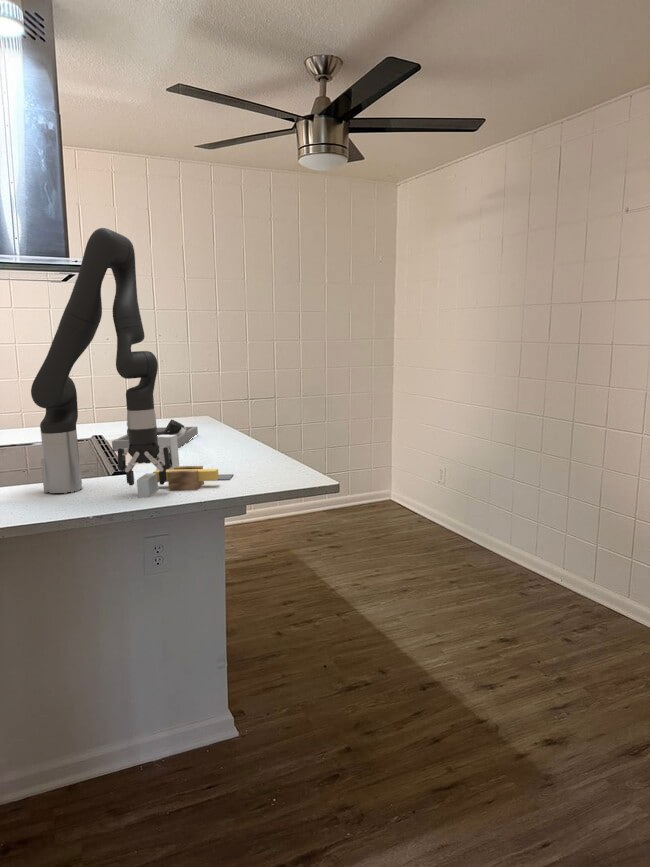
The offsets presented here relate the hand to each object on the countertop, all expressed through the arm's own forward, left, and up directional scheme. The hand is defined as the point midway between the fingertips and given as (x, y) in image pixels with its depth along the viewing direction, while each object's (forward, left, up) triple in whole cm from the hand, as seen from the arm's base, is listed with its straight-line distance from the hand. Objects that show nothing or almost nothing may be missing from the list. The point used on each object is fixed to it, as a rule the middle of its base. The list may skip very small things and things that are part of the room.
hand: (146, 484), depth 163 cm
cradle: (+9, +7, -3) cm, 12 cm away
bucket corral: (-23, +82, -3) cm, 85 cm away
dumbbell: (-23, +82, -3) cm, 85 cm away
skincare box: (-2, +26, -3) cm, 26 cm away
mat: (+9, +17, -3) cm, 19 cm away
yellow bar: (+9, +7, -1) cm, 11 cm away
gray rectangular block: (0, 0, -3) cm, 3 cm away
